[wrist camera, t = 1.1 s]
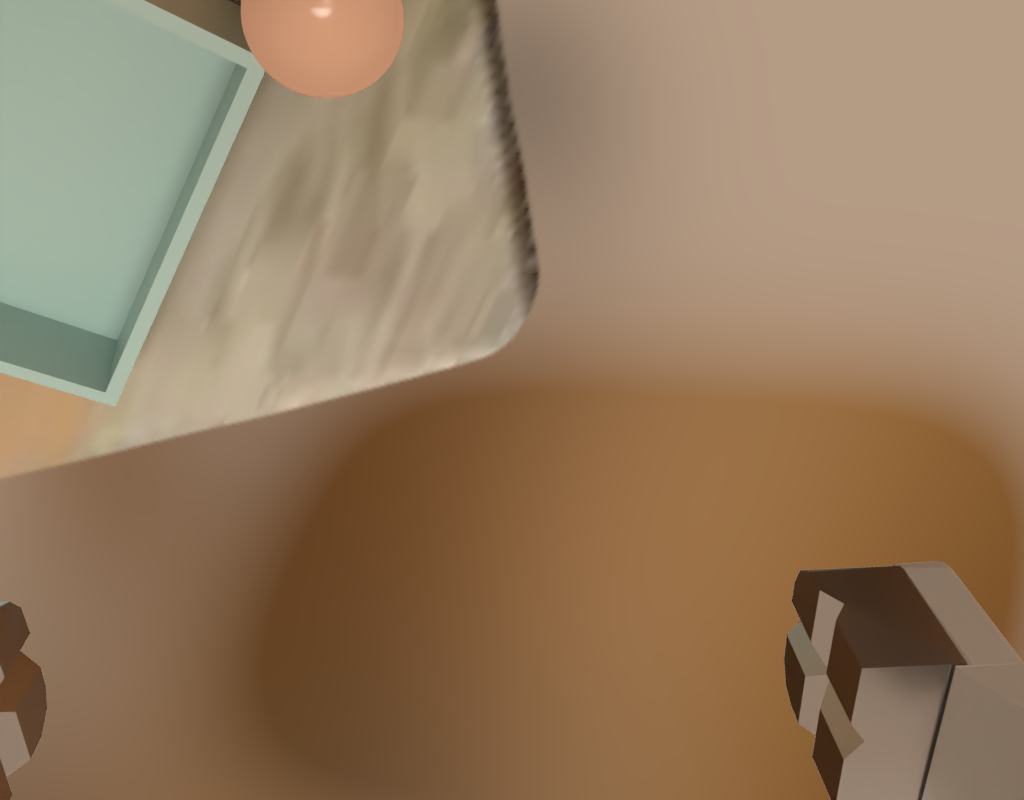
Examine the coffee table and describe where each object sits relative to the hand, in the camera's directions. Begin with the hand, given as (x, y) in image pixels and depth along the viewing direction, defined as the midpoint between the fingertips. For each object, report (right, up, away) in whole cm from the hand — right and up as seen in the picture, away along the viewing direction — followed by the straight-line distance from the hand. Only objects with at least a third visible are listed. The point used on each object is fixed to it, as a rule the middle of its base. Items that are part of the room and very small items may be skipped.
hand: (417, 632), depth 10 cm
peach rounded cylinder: (-6, +20, +27) cm, 34 cm away
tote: (-18, +13, +29) cm, 37 cm away
